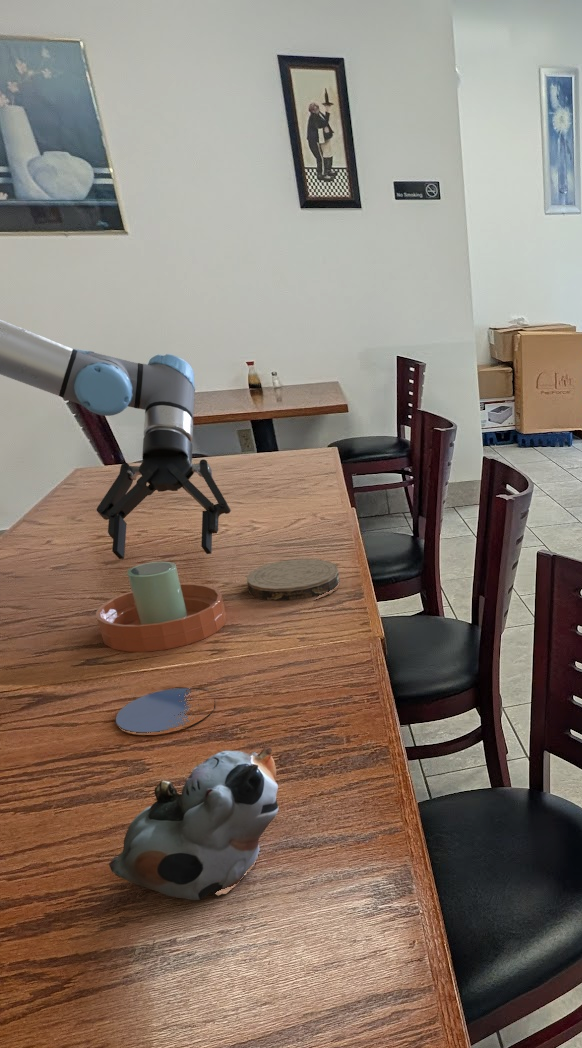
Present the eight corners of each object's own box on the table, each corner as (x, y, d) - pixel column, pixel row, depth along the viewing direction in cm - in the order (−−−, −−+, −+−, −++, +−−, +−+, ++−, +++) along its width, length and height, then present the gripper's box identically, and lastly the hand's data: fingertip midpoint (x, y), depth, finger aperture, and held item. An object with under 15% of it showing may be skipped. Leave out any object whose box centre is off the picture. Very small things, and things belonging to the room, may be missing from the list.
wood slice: (243, 608, 141) (240, 592, 140) (255, 577, 155) (252, 562, 154) (338, 600, 144) (336, 584, 142) (341, 570, 158) (339, 556, 156)
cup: (133, 636, 129) (117, 576, 124) (155, 619, 135) (141, 561, 131) (176, 636, 128) (162, 576, 124) (197, 619, 135) (184, 561, 130)
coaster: (97, 735, 103) (96, 731, 103) (146, 690, 114) (145, 687, 114) (190, 737, 102) (189, 733, 102) (230, 692, 113) (229, 688, 113)
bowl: (79, 655, 124) (70, 625, 122) (141, 610, 141) (134, 583, 139) (196, 657, 123) (189, 626, 121) (245, 611, 140) (239, 583, 138)
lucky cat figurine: (161, 822, 86) (204, 703, 84) (269, 864, 87) (315, 747, 85) (81, 883, 72) (132, 740, 70) (213, 932, 73) (266, 793, 71)
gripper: (250, 450, 144) (248, 558, 137) (100, 456, 141) (91, 567, 134) (238, 424, 137) (236, 537, 130) (80, 430, 134) (69, 546, 127)
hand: (162, 552), depth 132 cm, fingers open, 13 cm apart
